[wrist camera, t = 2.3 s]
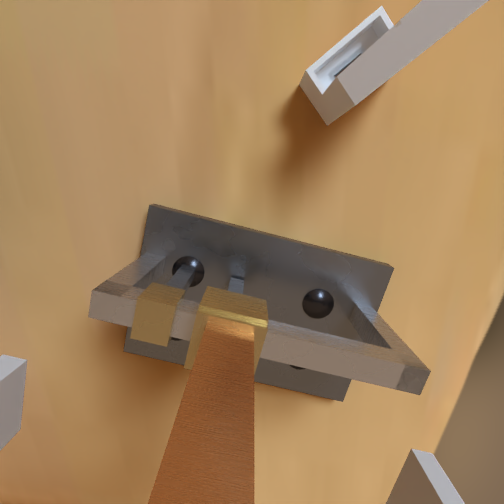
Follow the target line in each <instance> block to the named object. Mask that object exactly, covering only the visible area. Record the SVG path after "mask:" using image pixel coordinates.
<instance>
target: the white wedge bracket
mask: <svg viewBox="0 0 504 504" xmlns="http://www.w3.org/2000/svg"><path fill="white" fill-rule="evenodd" d="M487 1H489V0H422V1H421V2H420V3H418V4H417V5H416V6H415V7H414V8H413V9H412V10H411V11H410V12H408V13H407V14H406V15H405V16H404V17H403V18H402V19H401V20H400V21H399V22H398V23H397V24H396V25H395V26H394V25H393V23H392V22H391V20H390V18H389V17H388V15H387V13H386V12H385V10H384V8H383V7H382V6H381V7H380V8H378V9H377V10H376V11H375V12H374V13H372V14H371V15H370V16H369V17H368V18H367V19H365V20H364V21H363V22H362V23H361V24H360V25H358V26H357V27H356V28H355V29H354V30H352V31H351V32H350V33H349V34H348V35H347V36H345V37H344V38H343V39H342V40H341V41H340V42H338V43H337V44H336V45H335V46H334V47H332V48H331V49H330V50H329V51H328V52H327V53H325V54H324V55H323V56H322V57H321V58H320V59H318V60H317V61H316V62H315V63H314V64H312V65H311V66H310V67H309V68H308V69H307V70H306V71H305V73H304V75H303V77H302V79H301V81H300V83H299V85H300V87H301V88H302V90H303V91H304V93H305V94H306V96H307V97H308V99H309V100H310V102H311V103H312V104H313V106H314V107H315V109H316V110H317V112H318V113H319V115H320V116H321V118H322V119H323V121H324V122H325V123H326V125H327V126H328V125H329V124H331V123H332V122H333V121H335V120H336V119H338V118H339V117H340V116H342V115H343V114H344V113H346V112H347V111H349V110H350V109H351V108H353V107H354V106H356V105H357V104H358V103H359V102H361V101H362V100H363V99H364V98H366V97H367V96H368V95H369V94H371V93H372V92H373V91H375V90H376V89H377V88H378V87H380V86H381V85H382V84H383V83H385V82H386V81H387V80H388V79H390V78H391V77H392V76H394V75H395V74H396V73H397V72H399V71H400V70H401V69H402V68H404V67H405V66H406V65H407V64H409V63H410V62H411V61H413V60H414V59H415V58H416V57H418V56H419V55H420V54H421V53H423V52H424V51H425V50H426V49H428V48H429V47H430V46H432V45H433V44H434V43H435V42H437V41H438V40H439V39H440V38H442V37H443V36H444V35H445V34H447V33H448V32H449V31H451V30H452V29H453V28H454V27H456V26H457V25H458V24H459V23H461V22H462V21H463V20H464V19H466V18H467V17H468V16H470V15H471V14H472V13H473V12H475V11H476V10H477V9H478V8H480V7H481V6H482V5H483V4H485V3H486V2H487ZM346 67H347V68H346ZM345 68H346V69H345ZM344 69H345V70H344ZM343 70H344V71H343ZM340 72H341V73H340ZM339 73H340V74H339ZM338 74H339V75H338ZM337 75H338V76H337ZM336 76H337V77H336ZM335 77H336V78H335Z"/></svg>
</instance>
